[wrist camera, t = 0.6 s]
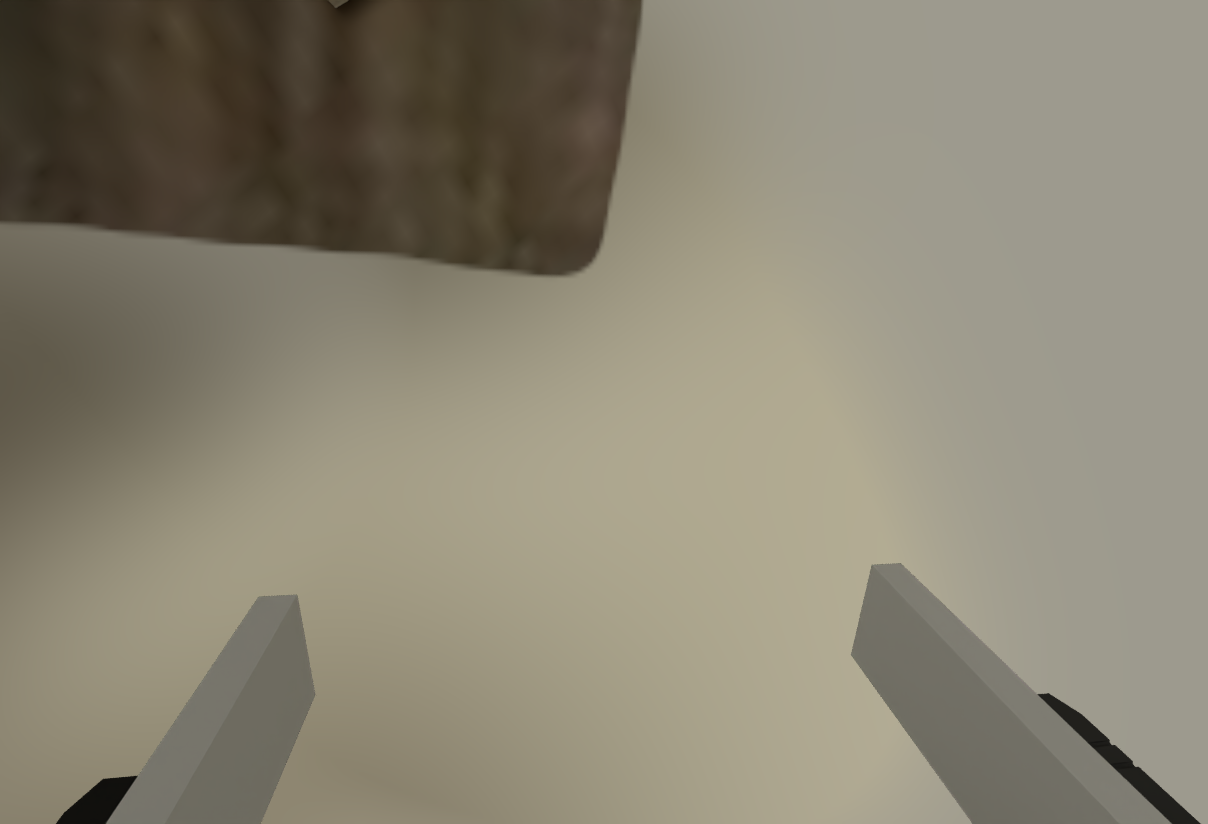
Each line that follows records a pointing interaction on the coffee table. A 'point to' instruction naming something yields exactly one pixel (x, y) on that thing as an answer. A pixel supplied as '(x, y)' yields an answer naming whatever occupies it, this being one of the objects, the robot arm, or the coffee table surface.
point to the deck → (337, 2)
